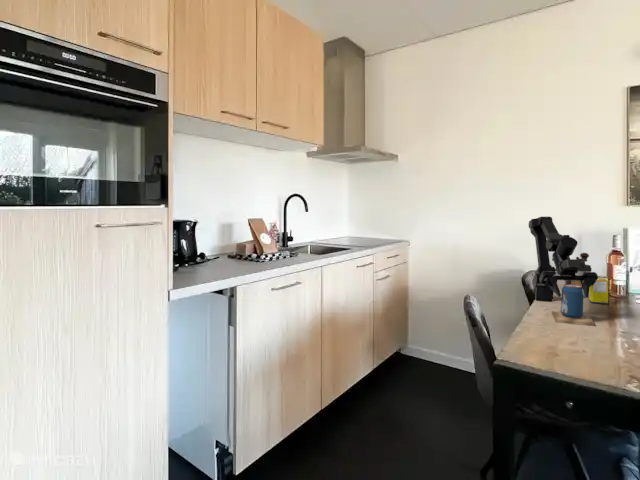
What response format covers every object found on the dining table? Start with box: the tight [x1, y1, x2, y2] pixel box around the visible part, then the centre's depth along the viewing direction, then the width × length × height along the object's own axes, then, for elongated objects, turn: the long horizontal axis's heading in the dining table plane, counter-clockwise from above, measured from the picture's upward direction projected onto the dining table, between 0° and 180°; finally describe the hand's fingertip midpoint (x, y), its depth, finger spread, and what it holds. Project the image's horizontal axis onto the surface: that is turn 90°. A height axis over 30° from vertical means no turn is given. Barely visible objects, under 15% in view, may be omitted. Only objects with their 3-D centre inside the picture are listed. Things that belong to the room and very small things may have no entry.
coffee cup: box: [571, 264, 593, 299], centre depth 178 cm, size 8×8×15 cm
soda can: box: [560, 283, 585, 319], centre depth 142 cm, size 7×7×12 cm
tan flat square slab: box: [551, 311, 595, 327], centre depth 142 cm, size 12×12×1 cm
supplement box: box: [588, 277, 609, 305], centre depth 166 cm, size 6×6×11 cm
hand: (573, 296), depth 141 cm, fingers open, 9 cm apart
